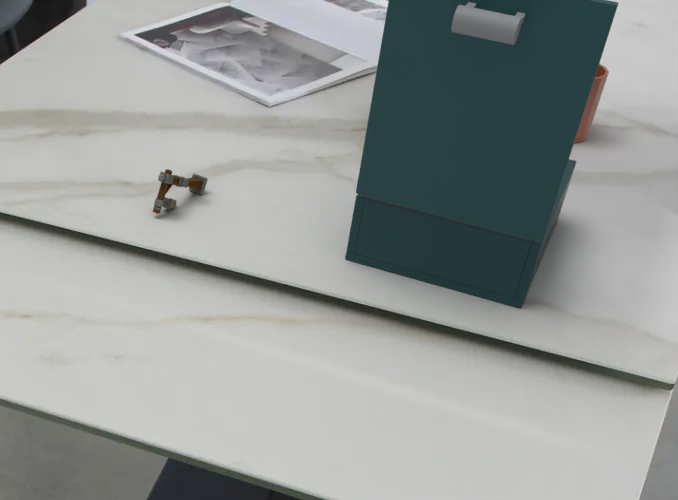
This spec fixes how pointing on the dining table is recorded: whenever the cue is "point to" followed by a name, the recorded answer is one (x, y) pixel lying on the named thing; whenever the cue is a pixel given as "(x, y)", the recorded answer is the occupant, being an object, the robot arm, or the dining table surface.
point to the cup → (592, 103)
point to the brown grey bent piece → (168, 180)
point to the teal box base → (449, 248)
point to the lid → (481, 106)
